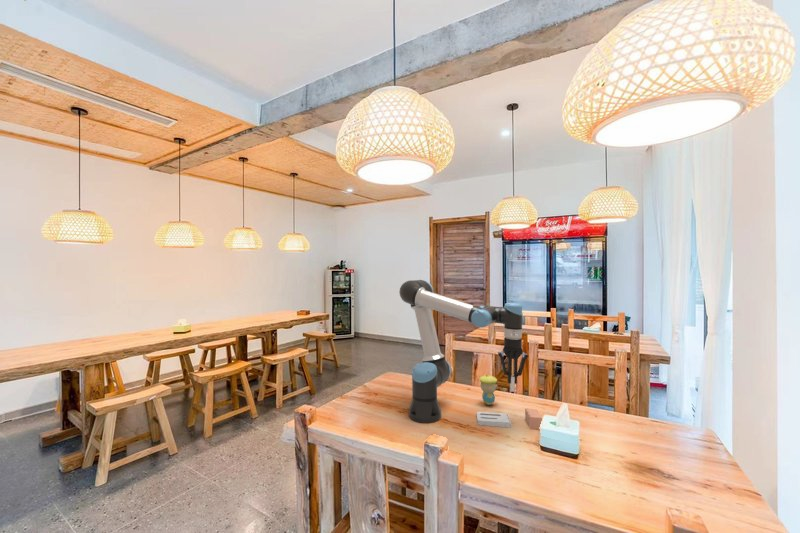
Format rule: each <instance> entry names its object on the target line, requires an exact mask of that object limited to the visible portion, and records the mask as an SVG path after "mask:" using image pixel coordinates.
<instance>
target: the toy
mask: <svg viewBox="0 0 800 533" xmlns="http://www.w3.org/2000/svg"><path fill="white" fill-rule="evenodd" d="M478 380H479V382H480V389H481V391H482V393H481V394H482V395H481V397H482V401H483V402H484V404H485V405H486V406H487V405H488V406H491V405H493V403H494V402H495V399H496V396H495V393H494V392H496V391H497V387H498V384H497V382H498V379H497V378H496V377H495V376H492V375H488V374H485V375H482V376H480V377H479V378H478Z"/></svg>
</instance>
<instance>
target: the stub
mask: <svg viewBox="0 0 800 533" xmlns="http://www.w3.org/2000/svg"><path fill="white" fill-rule="evenodd" d="M524 416H525V417H524V418H525V419H524V420H525V422H526V424H527V426H528V428H529V429H530V430H539V427H540V424H541V421H542V422H543V418H542V415H541V414H540V413H539V410H538V409H537V408H524Z"/></svg>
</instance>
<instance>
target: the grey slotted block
mask: <svg viewBox="0 0 800 533" xmlns="http://www.w3.org/2000/svg"><path fill="white" fill-rule="evenodd" d="M476 420H477V421H476V422H477V426H485V427H498V428H499V427H500V428H512V422H511V420H510V416H509V413H499V412H484V411H476Z"/></svg>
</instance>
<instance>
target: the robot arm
mask: <svg viewBox="0 0 800 533" xmlns="http://www.w3.org/2000/svg"><path fill="white" fill-rule="evenodd" d="M399 297H400V299H401V300H402V301H403V302H404V303H406V304H409V305H410V308H411V309H413V311H414V313H415V318H416V323H417V327H418V332H419V337H420V342H421V346H422V350H423V358H422V360H421V361H422V362H418V363H417V364H415V365H414V366H413V367H412V372H411V373H412V374H411V378H412V379H411V380H412V381H411V384H412V385H411V386H412V388H411V390H412V391H411V392H412V394H411V395H412V399H411V402H410V405H409V408H408V417H409V419H410V420H413V421H414V422H417V423H423V424H429V423H435V422H438V421H439V420H440V419H441V418H442V411H441V410H442V409H441V407H440V404H439V401H438V388H439V387H440V386H442V385H443V384H444V383H447V381H448V380H449V378H450V377H451V373H452V368H451V364H450V363H449V362H448V361H447V359H446V356H445V354H443V353H442V352H441V348H440V344H439V338H438V334H437V328H436V325H435V320H434V316H433V311H432V310H434V311H437V312H440V313H441V314H444V315H449V316H451V317H453V318H456V319H457V318H458V319H460V320H463V321H465V322H469V323H471V324H472V325H474V326H475V327H477V328H479V329H480V328H486V327H488V326H489V325H491V324H504V326H503V327H504V329H503V330H504V331H503V334H504V338H503V348H502V350H501V351H498V352H497V355H498V356H499V359H500V362H501V368H502V371H503V374H504V375H505V376H507V383H508V384H509V391H510V392H512V393H513V392H514V393H515V385H517V384H518V377H521V376H522V375H523V371H524V368H525V363H526V360H527V359H528V357H529V355H528V354H527V353H525V352H524V350H523V339H522V337H523V305H521V303H517V302H516V303H515V302H507V303H505V304H504V306H493V305H492V306H491V305H479V306H477V305H474V304H471V303H466V302H465V301H461V300H457V299H454V298H451V297H448V296H445V295H442V294H439V293H436V292H434V288H433V286H432V284H431V283H430V282H429V281H427V280H425V279H416V280H406V281H405V282H403V283H402V284H401V285H400V288H399ZM504 356H506V357H507V367H506V363H505V359H504ZM520 357H521V358H520ZM519 359H520V361H518V360H519ZM512 361H513V374H512ZM518 362H519V366H518Z"/></svg>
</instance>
